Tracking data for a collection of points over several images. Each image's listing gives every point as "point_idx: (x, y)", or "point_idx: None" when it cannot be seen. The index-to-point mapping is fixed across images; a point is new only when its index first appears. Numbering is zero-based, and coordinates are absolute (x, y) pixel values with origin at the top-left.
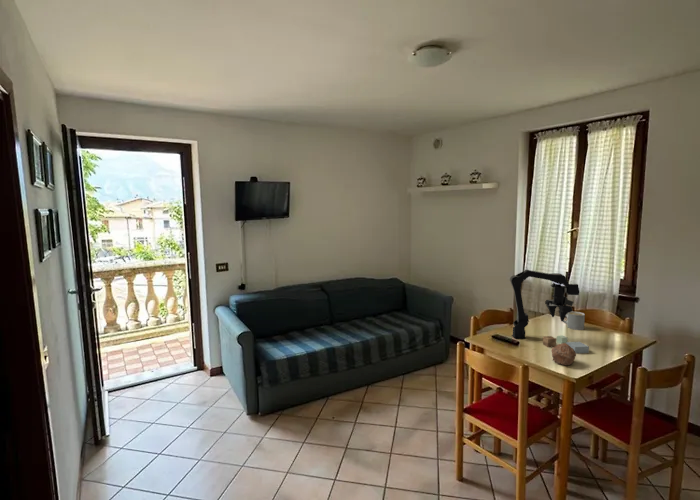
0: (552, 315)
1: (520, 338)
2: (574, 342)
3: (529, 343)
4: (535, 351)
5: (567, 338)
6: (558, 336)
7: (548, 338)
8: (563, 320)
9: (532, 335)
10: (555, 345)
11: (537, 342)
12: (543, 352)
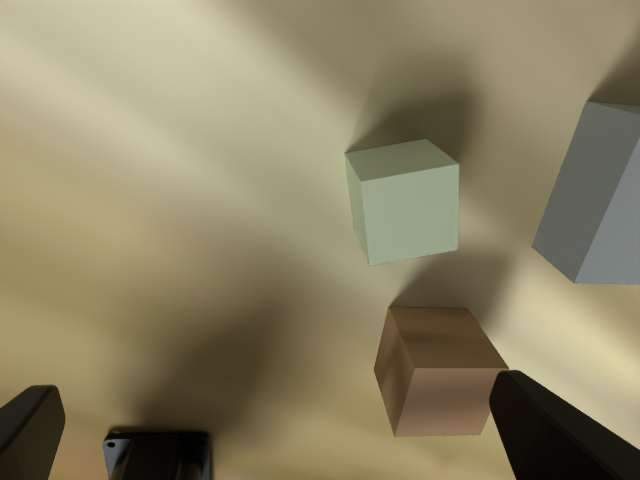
0: (44, 470)
1: (209, 468)
2: (629, 204)
3: (327, 445)
4: (482, 467)
5: (450, 158)
6: (394, 260)
7: (465, 423)
8: (537, 382)
9: (99, 342)
10: (472, 323)
11: (318, 388)
12: None
